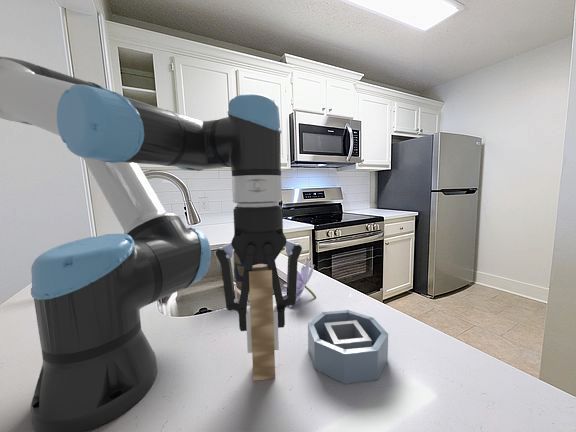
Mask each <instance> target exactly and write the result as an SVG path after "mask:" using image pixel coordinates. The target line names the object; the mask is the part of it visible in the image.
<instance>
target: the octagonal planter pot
mask: <svg viewBox="0 0 576 432" xmlns="http://www.w3.org/2000/svg"><path fill="white" fill-rule="evenodd" d="M307 339H308V340H307V348H308V352H309V354H310V355H309V356H310V358H311V361H312V365H313V369H314V370H317V371H318V372H319V373H322V374H323V375H326V376H328V377H329V378H332V379H333V380H336V381H337V382H340V383H341V384H343V385H347V384H356V383H364V382H365V383H366V382H372V381H378V380H379V378H380V376H381V374H382V373H383V371H384V369H385V366H386V365H387V362H388V360H389V359H388V357H389V355H388V354H389V333H388V332H387V331H386V330H385V329H384V327H383V326H382V325H381V324H380V323H379V322H378V321H377V319H376V318H375V317H372V316H369V315H366V314H363V313H360V312H356V311H352V310H349V309H343V310H332V311H330V310H329V311H322V312H321V313H319V314H318V315H317V316H316V317H314V318H313V319H312V320H311V321H309V322H308V323H307Z"/></svg>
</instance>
